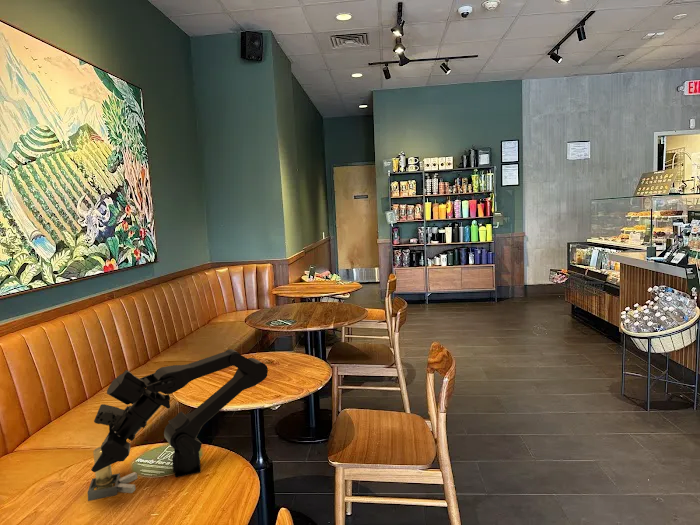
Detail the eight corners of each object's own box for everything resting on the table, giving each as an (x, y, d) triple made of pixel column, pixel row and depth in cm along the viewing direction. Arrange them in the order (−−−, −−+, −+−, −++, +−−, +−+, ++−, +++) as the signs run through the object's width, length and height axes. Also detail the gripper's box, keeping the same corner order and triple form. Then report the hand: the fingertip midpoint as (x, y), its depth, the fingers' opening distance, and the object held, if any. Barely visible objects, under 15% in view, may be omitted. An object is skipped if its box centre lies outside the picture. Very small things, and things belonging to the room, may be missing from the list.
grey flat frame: (137, 476, 122) (137, 468, 122) (135, 492, 115) (134, 484, 114) (93, 485, 118) (92, 477, 118) (87, 502, 111) (86, 494, 111)
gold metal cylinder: (114, 485, 118) (111, 444, 117) (111, 493, 114) (107, 451, 113) (99, 487, 117) (95, 447, 116) (95, 496, 113) (91, 454, 112)
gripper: (119, 381, 123) (76, 428, 121) (108, 408, 106) (58, 463, 103) (152, 404, 127) (111, 450, 124) (148, 434, 109) (100, 488, 107)
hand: (96, 461), depth 114 cm, fingers open, 9 cm apart
